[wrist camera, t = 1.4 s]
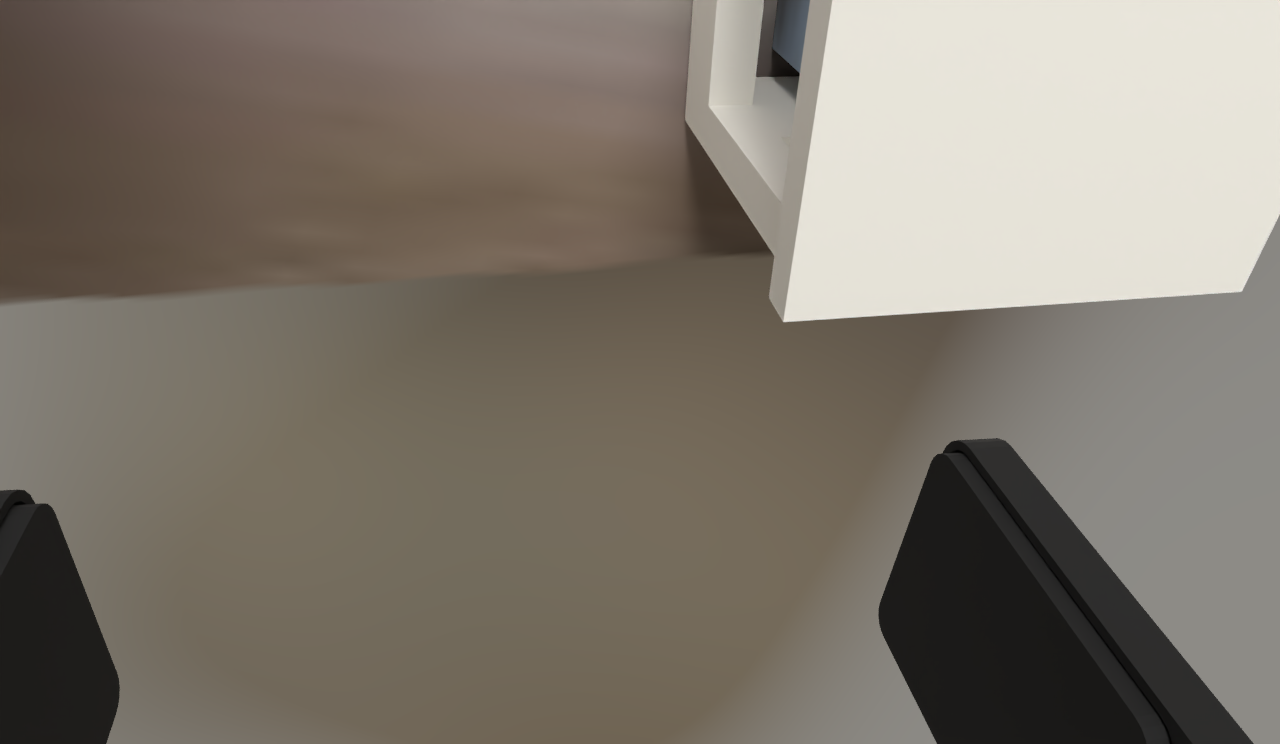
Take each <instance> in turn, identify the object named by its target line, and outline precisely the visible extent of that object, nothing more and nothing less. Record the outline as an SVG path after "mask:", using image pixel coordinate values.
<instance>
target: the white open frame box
mask: <svg viewBox="0 0 1280 744" xmlns="http://www.w3.org/2000/svg"><path fill="white" fill-rule="evenodd" d="M763 7H764V0H693V8H692V23H691V37H690V52H689V67H688V81H687V96H686V111H685V121H686V122H687V124H688V126H689V127H690V129H691V130H692V132H693V133H694V135H695V136H696V138H697V139H698V141H699V142H700V144H701V145H702V147H703V148H704V150H705V151H706V153H707V154H708V156H709V157H710V159H711V160H712V162H713V164H714V165H715V167H716V168H717V170H718V171H719V173H720V174H721V176H722V177H723V179H724V180H725V182H726V183H727V185H728V186H729V188H730V189H731V191H732V192H733V194H734V195H735V197H736V199H737V200H738V202H739V203H740V205H741V206H742V208H743V209H744V211H745V212H746V214H747V215H748V217H749V218H750V220H751V221H752V223H753V224H754V226H755V227H756V229H757V230H758V232H759V233H760V235H761V237H762V238H763V240H764V241H765V243H766V244H767V246H768V247H769V249H770V250H771V252H772V253H773V255H774V263H773V270H772V278H771V284H770V291H769V299H770V301H771V303H772V304H773V306H774V308H775V309H776V311H777V313H778V314H779V316H780V318H781V319H782V321H783V322H794V321H809V320H824V319H838V318H854V317H869V316H883V315H898V314H914V313H929V312H942V311H959V310H974V309H989V308H1003V307H1019V306H1034V305H1048V304H1064V303H1080V302H1094V301H1110V300H1123V299H1139V298H1155V297H1170V296H1184V295H1199V294H1213V293H1214V294H1215V293H1230V292H1242V290H1243V288H1244V286H1245V284H1246V282H1247V280H1248V278H1249V276H1250V274H1251V272H1252V270H1253V268H1254V266H1255V263H1256V262H1257V259H1258V257H1259V255H1260V253H1261V251H1262V249H1263V247H1264V245H1265V243H1266V241H1267V239H1268V237H1269V235H1270V233H1271V231H1272V229H1273V227H1274V225H1275V223H1276V220H1277V219H1278V217H1279V215H1280V0H810V4H809V12H808V19H807V26H806V33H805V40H804V47H803V55H802V62H801V69H800V76H795V77H756V69H757V60H758V51H759V42H760V33H761V25H762V16H763Z"/></svg>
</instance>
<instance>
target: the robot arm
mask: <svg viewBox="0 0 1280 744" xmlns="http://www.w3.org/2000/svg"><path fill="white" fill-rule="evenodd" d="M879 624H880V628H881V631H882V634H883V636H884V638H885V640H886V642H887V644H888V646H889V648H890V650H891V652H892V654H893V656H894V658H895V660H896V662H897V664H898V666H899V668H900V670H901V672H902V674H903V676H904V678H905V680H906V682H907V684H908V686H909V688H910V690H911V692H912V694H913V696H914V698H915V700H916V702H917V704H918V706H919V708H920V710H921V712H922V714H923V716H924V718H925V720H926V722H927V724H928V726H929V728H930V730H931V732H932V734H933V736H934V738H935V740H936V742H937V744H1253V742H1252V741H1251V740H1250V739H1249V738H1248V736H1247V735H1246V734H1245V733H1244V731H1243V730H1242V729H1241V728H1240V726H1239V725H1238V724H1237V723H1236V722H1235V721H1234V719H1233V718H1232V717H1231V715H1230V714H1229V713H1228V712H1227V711H1226V709H1225V708H1224V707H1223V706H1222V704H1221V703H1220V702H1219V701H1218V699H1217V698H1216V697H1215V696H1214V695H1213V694H1212V692H1211V691H1210V690H1209V689H1208V687H1207V686H1206V685H1205V684H1204V682H1203V681H1202V680H1201V679H1200V677H1199V676H1198V675H1197V674H1196V672H1195V671H1194V670H1193V669H1192V668H1191V666H1190V665H1189V664H1188V663H1187V662H1186V660H1185V659H1184V658H1183V657H1182V655H1181V654H1180V653H1179V652H1178V651H1177V649H1176V648H1175V647H1174V646H1173V644H1172V643H1171V642H1170V641H1169V639H1168V638H1167V637H1166V636H1165V635H1164V633H1163V632H1162V631H1161V630H1160V629H1159V627H1158V626H1157V625H1156V623H1155V622H1154V621H1153V620H1152V619H1151V617H1150V616H1149V615H1148V614H1147V612H1146V611H1145V610H1144V609H1143V607H1142V606H1141V605H1140V604H1139V603H1138V601H1137V600H1136V599H1135V598H1134V596H1133V595H1132V594H1131V593H1130V592H1129V590H1128V589H1127V588H1126V587H1125V585H1124V584H1123V583H1122V582H1121V581H1120V579H1119V578H1118V577H1117V576H1116V574H1115V573H1114V572H1113V571H1112V569H1111V568H1110V567H1109V566H1108V565H1107V563H1106V562H1105V561H1104V560H1103V559H1102V557H1101V556H1100V555H1099V554H1098V553H1097V551H1096V550H1095V549H1094V548H1093V546H1092V545H1091V544H1090V543H1089V541H1088V540H1087V539H1086V538H1085V536H1084V535H1083V534H1082V533H1081V532H1080V530H1079V529H1078V528H1077V527H1076V525H1075V524H1074V523H1073V522H1072V520H1071V519H1070V518H1069V517H1068V516H1067V514H1066V513H1065V512H1064V511H1063V509H1062V508H1061V507H1060V506H1059V505H1058V503H1057V502H1056V501H1055V500H1054V498H1053V497H1052V496H1051V495H1050V494H1049V492H1048V491H1047V490H1046V489H1045V487H1044V486H1043V485H1042V484H1041V483H1040V481H1039V480H1038V479H1037V478H1036V476H1035V475H1034V474H1033V473H1032V471H1031V470H1030V469H1029V468H1028V467H1027V465H1026V464H1025V463H1024V462H1023V460H1022V459H1021V458H1020V457H1019V456H1018V454H1017V453H1016V452H1015V451H1014V449H1013V448H1012V447H1011V446H1010V445H1009V444H1008V443H1007V442H1006V441H1004V440H1001V439H998V438H996V439H977V440H958V441H953V442H951V443H950V444H948V445H947V446H946V448H945V450H944V452H943V453H942V454H937V455H936V456H935V457H934V458H933V460H932V462H931V464H930V467H929V470H928V473H927V476H926V478H925V481H924V484H923V486H922V489H921V492H920V495H919V497H918V500H917V503H916V505H915V508H914V511H913V514H912V517H911V519H910V522H909V525H908V528H907V530H906V533H905V536H904V538H903V541H902V544H901V547H900V550H899V552H898V555H897V558H896V561H895V563H894V566H893V569H892V571H891V574H890V577H889V580H888V582H887V585H886V588H885V591H884V594H883V596H882V599H881V602H880V606H879ZM119 688H120V687H119V678H118V675H117V671H116V669H115V666H114V664H113V662H112V659H111V656H110V653H109V651H108V648H107V646H106V643H105V641H104V638H103V635H102V633H101V631H100V628H99V625H98V623H97V620H96V617H95V615H94V612H93V610H92V607H91V604H90V602H89V599H88V597H87V594H86V592H85V589H84V587H83V584H82V581H81V579H80V576H79V574H78V571H77V568H76V566H75V563H74V561H73V558H72V556H71V554H70V550H69V548H68V545H67V543H66V540H65V538H64V535H63V532H62V530H61V527H60V525H59V522H58V519H57V517H56V514H55V512H54V510H53V509H52V507H51V506H49V505H48V504H35V502H34V501H33V499H32V497H31V495H30V494H28V493H27V492H26V491H25V490H6V491H5V490H4V491H0V744H106V743H107V740H108V736H109V733H110V730H111V727H112V724H113V721H114V718H115V715H116V712H117V707H118V702H119Z"/></svg>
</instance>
